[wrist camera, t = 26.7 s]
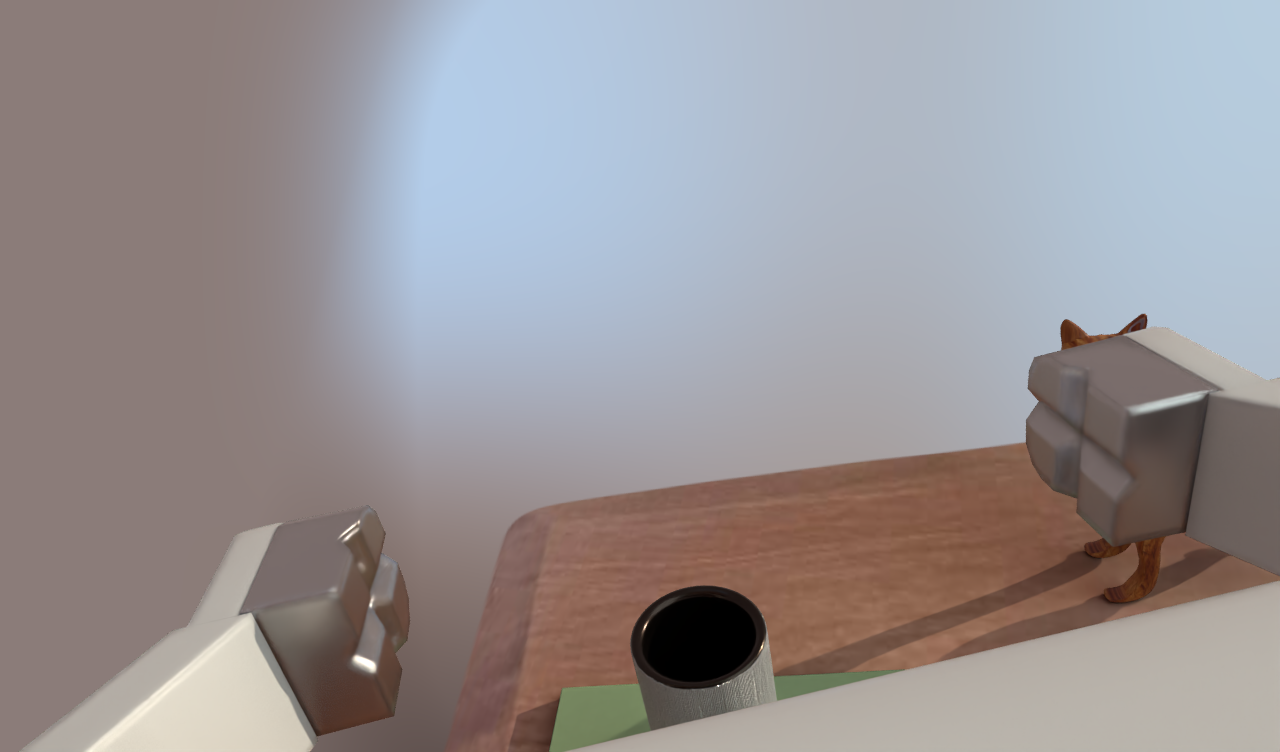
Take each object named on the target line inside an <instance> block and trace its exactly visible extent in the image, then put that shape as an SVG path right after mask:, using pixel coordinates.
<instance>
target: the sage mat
mask: <svg viewBox="0 0 1280 752" xmlns="http://www.w3.org/2000/svg"><path fill="white" fill-rule="evenodd" d="M904 670H905V669H903V670H885V671H866V672H848V673H829V674H811V675H792V676H774V683H775V690H776V698H777V701H779V700H783V699H787V698H791V697H795V696H799V695H804V694H808V693H812V692H816V691H820V690H825V689H829V688H833V687H837V686H841V685H846V684H850V683H854V682H858V681H862V680H866V679H871V678H875V677H879V676H883V675H887V674H891V673H895V672H900V671H904ZM649 731H650V727H649V723H648V718H647V714H646V710H645V706H644V702H643V698H642V694H641V690H640V686H639V684H626V685H608V686H589V687H571V688H562V691H561V696H560V701H559V705H558V710H557V715H556V720H555V725H554V729H553V734H552V739H551V744H550V749H549V752H565V751H569V750H573V749H578V748H582V747H586V746H590V745H594V744H598V743H603V742H607V741H611V740H615V739H619V738H624V737H628V736H632V735H636V734H640V733H645V732H649Z"/></svg>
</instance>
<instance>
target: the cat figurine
mask: <svg viewBox="0 0 1280 752" xmlns="http://www.w3.org/2000/svg"><path fill="white" fill-rule="evenodd" d="M1146 326H1147V315H1146V314H1141V315H1140V316H1138V317H1137V318H1136V319H1134V320H1133V321H1132V322H1131V323H1129V324H1128V325H1127V326H1126V327H1125V328H1124V329H1122V330H1121V331H1120V332H1119V333H1117V334H1111V335H1102V334H1101V335H1097V336H1089V335H1087V333H1085V332H1084V331H1083V330H1082V329H1081V328H1080V327H1079V326H1077V325H1076V324H1074V323H1073V322H1071V321H1070V320H1067V319H1066V320H1064V321H1063V322H1062V324H1061V341H1062V349H1061V350H1065V349H1069V348H1073V347H1077V346H1081V345H1085V344H1089V343H1093V342H1097V341H1101V340H1105V339H1109V338H1113V337H1116V336H1120V335H1123V334H1127V333H1131V332H1135V331H1139V330H1142V329H1146ZM1165 537H1166V536H1164V537H1159V538H1154V539H1150V540H1145V541H1140V542H1136V547H1137V552H1138V556H1139V565H1138V568H1137V570H1136V571H1135V572H1134V574H1133V575H1132V576H1131V577H1130V578H1129V579H1128V580H1127V581H1126V582H1125V583H1124V584H1123V585H1121V586H1118V587H1114V588H1107V589H1105V590H1104V596H1105V597H1106V598H1107V599H1108V600H1109V601H1111V602H1129V601H1134V600H1138V599H1140V598H1142V597H1144V596H1146V595H1147V594H1149V593H1150V592H1151V591H1152V589H1153V588H1154V586H1155V584H1156V581H1157V577H1158V573H1159V567H1160V551H1161V544H1162V542H1163V541H1164V539H1165ZM1130 545H1131V543H1130V544H1125V545H1121V546H1116V547H1112V546H1111V545H1110V544H1109V543H1108V542H1107V541H1106V540H1105V539H1104V538H1102V539H1100V540H1098V541H1095V542H1089V543H1086V544H1085V545H1084V547H1085V551H1086V552H1087V553H1088V554H1089V555H1091V556H1092V557H1096V558H1105V557H1111V556H1114V555H1117V554H1119V553H1122V552H1123V551H1125V550H1126V549H1127V548H1128V547H1129V546H1130Z"/></svg>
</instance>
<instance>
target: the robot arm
mask: <svg viewBox="0 0 1280 752" xmlns="http://www.w3.org/2000/svg"><path fill="white" fill-rule="evenodd" d="M1028 389H1029V390H1030V392H1031V393H1032V394H1033V395H1034V396H1035V397H1036V399H1037V400H1038V401H1039V402H1038V404H1037V405H1036V406H1035V408H1034V409H1033V411H1032V412H1031V414H1030V415H1029V417H1028V418H1027V419H1026V445H1027V448H1028V452H1029V455H1030V458H1031V462H1032V464H1033V466H1034V468H1035V469H1036V471H1037V473H1038V474H1039V476H1040V477H1041V479H1042V480H1043V481H1044V482H1045V483H1046V484H1047V485H1048V486H1049V487H1050V488H1051V489H1052V490H1053V491H1056V492H1059V493H1062V494H1065V495H1068V496H1071V497H1074V498H1077V511H1076V513H1077V514H1078V515H1080V516H1081V517H1082V518H1083V519H1084V520H1085V521H1086V522H1087V523H1088V524H1089V525H1090V526H1091V527H1092V528H1093V529H1094V530H1095V531H1097V532H1098V533H1099V534H1100V535H1101V536H1102V537H1103V538H1104V539H1105V540H1106V541H1107V542H1108V543H1109V544H1110V545H1111V546H1112V547H1116V546H1121V545H1125V544H1130V543H1135V542H1140V541H1145V540H1150V539H1154V538H1159V537H1164V536H1169V535H1174V534H1179V533H1183V532H1186V534H1185V535H1186V536H1188V537H1190V538H1193V539H1195V540H1197V541H1199V542H1202V543H1204V544H1206V545H1209V546H1211V547H1213V548H1216V549H1218V550H1220V551H1223V552H1225V553H1227V554H1230V555H1232V556H1234V557H1237V558H1239V559H1241V560H1244V561H1246V562H1248V563H1251V564H1253V565H1255V566H1257V567H1260V568H1262V569H1264V570H1267V571H1269V572H1271V573H1274V574H1276V575H1278V576H1280V378H1276V379H1272V380H1265V379H1263V378H1262V377H1260V376H1258V375H1256V374H1254V373H1252V372H1250V371H1248V370H1246V369H1244V368H1242V367H1241V366H1239V365H1237V364H1235V363H1233V362H1231V361H1229V360H1227V359H1226V358H1224V357H1222V356H1220V355H1218V354H1216V353H1214V352H1212V351H1210V350H1208V349H1206V348H1204V347H1203V346H1201V345H1199V344H1197V343H1195V342H1193V341H1191V340H1190V339H1188V338H1186V337H1184V336H1182V335H1180V334H1178V333H1176V332H1174V331H1173V330H1171V329H1169V328H1164V327H1150V328H1146V329H1142V330H1139V331H1135V332H1131V333H1127V334H1123V335H1120V336H1116V337H1113V338H1109V339H1105V340H1101V341H1097V342H1093V343H1089V344H1085V345H1081V346H1077V347H1073V348H1069V349H1065V350H1061V351H1057V352H1053V353H1049V354H1045V355H1041V356H1038V357H1034V360H1033V362H1032V364H1031V367H1030V370H1029V378H1028ZM385 535H386V533H385V531H384V529H383V527H382V524H381V522H380V520H379V517H378V515H377V513H376V511H375V510H373V509H372V508H371V507H370V506H368V505H366V506H361V507H356V508H352V509H347V510H342V511H337V512H332V513H327V514H322V515H317V516H312V517H308V518H303V519H298V520H293V521H288V522H285V523H276V524H272V525H268V526H264V527H260V528H256V529H251V530H247V531H244V532H242V533H239V534H237V535H235V536H234V538H233V540H232V542H231V543H230V545H229V547H228V549H227V551H226V553H225V555H224V557H223V559H222V561H221V563H220V564H219V566H218V568H217V570H216V572H215V574H214V576H213V578H212V580H211V582H210V584H209V586H208V588H207V590H206V591H205V593H204V595H203V597H202V599H201V601H200V603H199V605H198V607H197V609H196V610H195V613H194V614H193V616H192V618H191V620H190V622H189V624H188V626H187V627H185V628H181V629H177V630H173V631H171V632H170V633H169V634H168V635H166V636H165V637H164V638H162V639H161V640H160V641H159V642H157V643H156V644H155V645H154V646H152V647H151V648H150V649H149V650H147V651H146V652H145V653H143V654H142V655H141V656H140V657H138V658H137V659H136V660H135V661H133V662H132V663H131V664H129V665H128V666H127V667H126V668H124V669H123V670H122V671H121V672H119V673H118V674H117V675H115V676H114V677H113V678H112V679H110V680H109V681H108V682H107V683H105V684H104V685H103V686H102V687H100V688H99V689H98V690H97V691H95V692H94V693H93V694H91V695H90V696H89V697H87V698H86V699H85V700H84V701H82V702H81V703H80V704H79V705H77V706H76V707H75V708H73V709H72V710H71V711H70V712H68V713H67V714H66V715H65V716H63V717H62V718H61V719H60V720H58V721H57V722H56V723H54V724H53V725H52V726H51V727H49V728H48V729H47V730H46V731H44V732H43V733H42V734H41V735H39V736H38V737H37V738H35V739H34V740H33V741H32V742H30V743H29V744H28V745H26V746H25V747H24V748H23V749H21V750H20V751H19V752H310V751H311V750H312V748H313V747H314V746H315V744H316V743H317V742H318V738H317V736H321V735H324V734H328V733H332V732H336V731H339V730H343V729H347V728H351V727H355V726H359V725H362V724H366V723H370V722H374V721H377V720H381V719H385V718H389V717H393V716H394V714H395V708H396V702H397V697H398V691H399V685H400V680H401V674H402V668H401V665H400V663H399V661H398V658H397V656H396V654H395V653H396V652H397V651H398V650H399V649H400V648H401V647H402V646H403V644H404V643H405V642H406V641H407V639H408V632H409V625H410V616H409V615H410V614H409V598H408V594H407V590H406V586H405V581H404V578H403V575H402V573H401V570H400V568H399V565H398V563H397V562H395V561H394V560H392V559H391V558H389V557H387V556H385V555H384V554H382V553H381V552H382V548H383V543H384V539H385ZM565 752H1280V581H1276V582H1272V583H1267V584H1263V585H1259V586H1255V587H1251V588H1246V589H1242V590H1238V591H1234V592H1230V593H1226V594H1221V595H1217V596H1213V597H1209V598H1205V599H1200V600H1196V601H1192V602H1188V603H1184V604H1179V605H1175V606H1171V607H1167V608H1163V609H1159V610H1154V611H1150V612H1146V613H1142V614H1138V615H1133V616H1129V617H1125V618H1121V619H1117V620H1112V621H1108V622H1104V623H1100V624H1096V625H1092V626H1087V627H1083V628H1079V629H1075V630H1071V631H1066V632H1062V633H1058V634H1054V635H1050V636H1045V637H1041V638H1037V639H1033V640H1029V641H1025V642H1020V643H1016V644H1012V645H1008V646H1004V647H999V648H995V649H991V650H987V651H983V652H978V653H974V654H970V655H966V656H962V657H958V658H953V659H949V660H945V661H941V662H937V663H933V664H929V665H924V666H920V667H916V668H912V669H908V670H904V671H900V672H895V673H891V674H887V675H883V676H879V677H875V678H871V679H866V680H862V681H858V682H854V683H850V684H846V685H841V686H837V687H833V688H829V689H825V690H820V691H816V692H812V693H808V694H804V695H799V696H795V697H791V698H787V699H783V700H779V701H774V702H770V703H766V704H762V705H758V706H753V707H749V708H745V709H741V710H737V711H732V712H728V713H724V714H720V715H716V716H712V717H707V718H703V719H699V720H695V721H691V722H686V723H682V724H678V725H674V726H670V727H665V728H661V729H657V730H653V731H649V732H645V733H640V734H636V735H632V736H628V737H624V738H619V739H615V740H611V741H607V742H603V743H598V744H594V745H590V746H586V747H582V748H578V749H573V750H569V751H565Z"/></svg>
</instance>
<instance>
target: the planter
mask: <svg viewBox="0 0 1280 752" xmlns="http://www.w3.org/2000/svg"><path fill="white" fill-rule="evenodd" d="M630 646H631V654H632V658H633V662H634V666H635V670H636V674H637V678H638V682H639V686H640V690H641V694H642V698H643V702H644V706H645V710H646V714H647V718H648V723H649V727H650V731H653V730H657V729H661V728H665V727H670V726H674V725H678V724H682V723H686V722H691V721H695V720H699V719H703V718H707V717H712V716H716V715H720V714H724V713H728V712H732V711H737V710H741V709H745V708H749V707H753V706H758V705H762V704H766V703H770V702H774V701H777V698H776V690H775V683H774V676H773V669H772V662H771V655H770V647H769V640H768V633H767V627H766V623H765V620H764V617H763V615H762V613H761V612H760V610H759V609H758V608H757V606H756V605H755V604H754V603H753V602H752V601H750V600H749V599H748V598H746V597H745V596H743V595H742V594H740V593H738V592H735V591H733V590H730V589H727V588H723V587H717V586H693V587H687V588H683V589H679V590H676V591H673V592H671V593H669V594H667V595H665V596H663V597H661V598H659V599H658V600H656V601H655V602H654V603H652V604H651V605H650V606H649V607H648V608H647V609H646V610H645V611H644V612H643V613H642V614H641V616H640V617H639V619H638V620H637V622H636V624H635V626H634V628H633V631H632V635H631V642H630Z"/></svg>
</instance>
